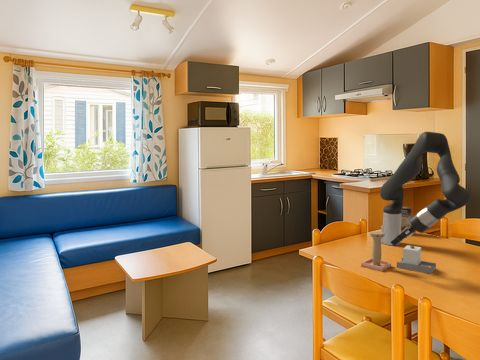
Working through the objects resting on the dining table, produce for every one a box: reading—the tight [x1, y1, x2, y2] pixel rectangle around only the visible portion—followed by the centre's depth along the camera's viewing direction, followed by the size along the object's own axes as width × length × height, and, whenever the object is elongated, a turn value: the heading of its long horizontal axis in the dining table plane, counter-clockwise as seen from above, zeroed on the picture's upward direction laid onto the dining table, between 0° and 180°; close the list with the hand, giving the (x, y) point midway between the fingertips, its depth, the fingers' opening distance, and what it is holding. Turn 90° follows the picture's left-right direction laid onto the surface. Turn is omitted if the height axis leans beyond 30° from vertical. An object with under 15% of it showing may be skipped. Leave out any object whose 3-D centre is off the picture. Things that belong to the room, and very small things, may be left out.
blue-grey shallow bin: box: [396, 256, 437, 275], centre depth 174 cm, size 14×8×2 cm, turn 51°
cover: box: [402, 245, 422, 265], centre depth 174 cm, size 6×7×8 cm
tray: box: [360, 257, 392, 272], centre depth 177 cm, size 10×9×2 cm
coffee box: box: [401, 206, 413, 232], centre depth 233 cm, size 9×6×16 cm
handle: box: [369, 231, 385, 266], centre depth 176 cm, size 5×6×15 cm
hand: (395, 241), depth 171 cm, fingers open, 8 cm apart
